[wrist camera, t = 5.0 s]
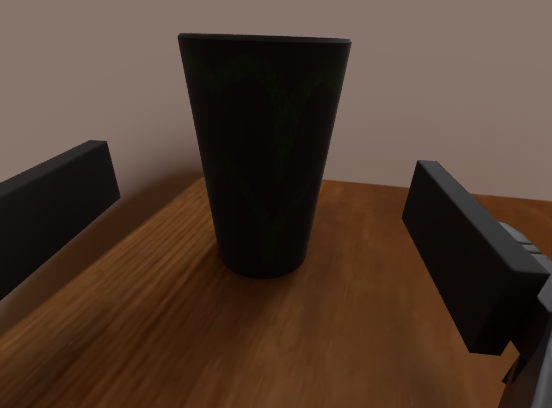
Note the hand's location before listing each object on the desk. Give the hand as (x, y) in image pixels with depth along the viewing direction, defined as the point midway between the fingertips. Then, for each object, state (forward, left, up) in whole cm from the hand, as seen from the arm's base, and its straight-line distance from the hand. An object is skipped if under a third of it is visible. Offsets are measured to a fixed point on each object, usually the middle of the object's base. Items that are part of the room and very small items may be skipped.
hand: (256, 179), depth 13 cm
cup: (+2, +3, -7) cm, 8 cm away
